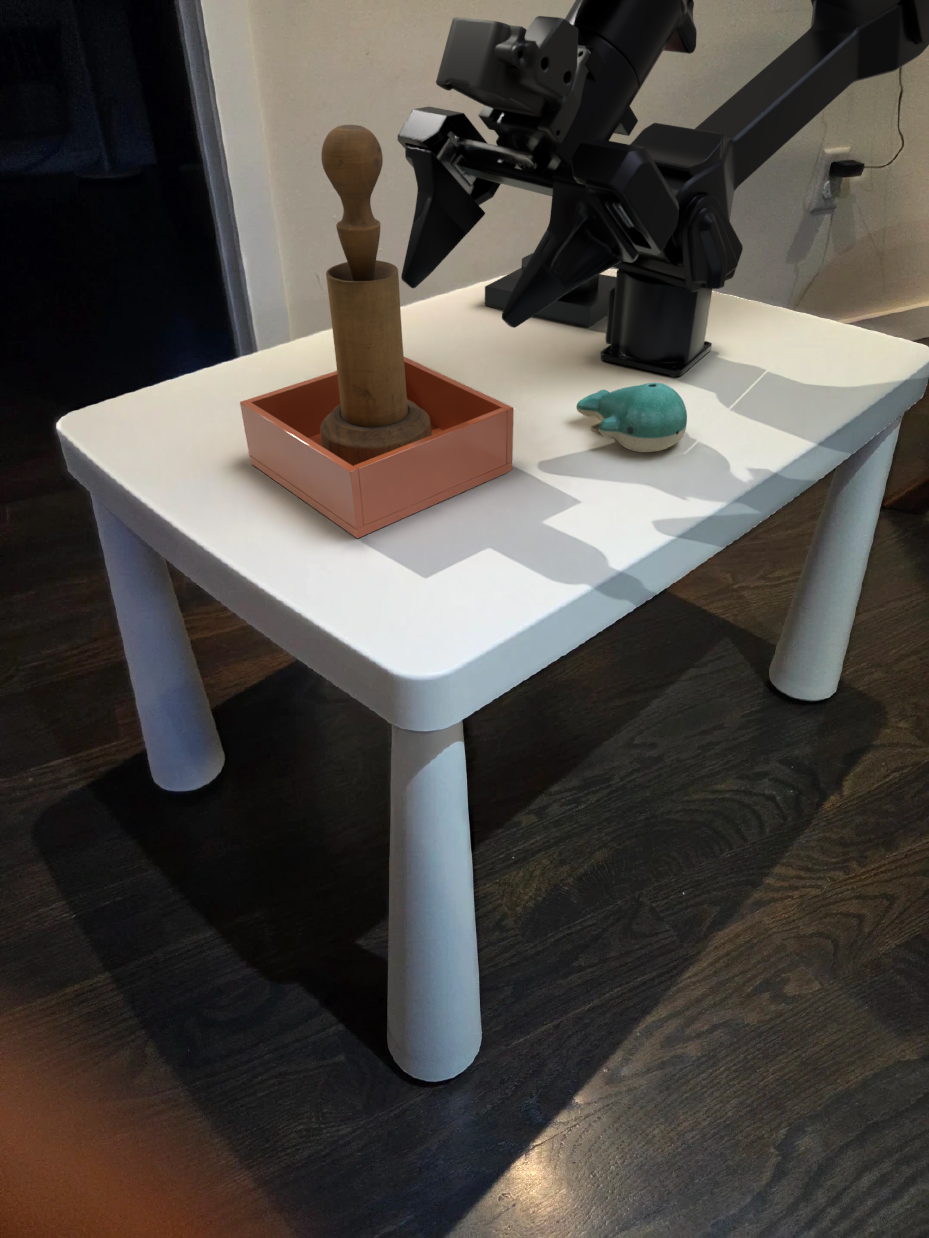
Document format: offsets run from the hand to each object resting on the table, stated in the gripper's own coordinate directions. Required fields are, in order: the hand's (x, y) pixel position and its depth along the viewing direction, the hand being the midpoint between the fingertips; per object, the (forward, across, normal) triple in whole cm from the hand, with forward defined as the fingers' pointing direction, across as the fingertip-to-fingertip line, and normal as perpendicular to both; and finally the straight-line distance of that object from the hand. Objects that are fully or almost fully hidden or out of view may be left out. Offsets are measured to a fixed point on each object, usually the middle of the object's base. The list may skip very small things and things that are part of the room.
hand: (454, 302), depth 54 cm
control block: (-10, -13, +22) cm, 28 cm away
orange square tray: (+10, 0, +2) cm, 11 cm away
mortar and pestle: (+10, 0, +1) cm, 10 cm away
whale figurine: (0, +7, +12) cm, 14 cm away
